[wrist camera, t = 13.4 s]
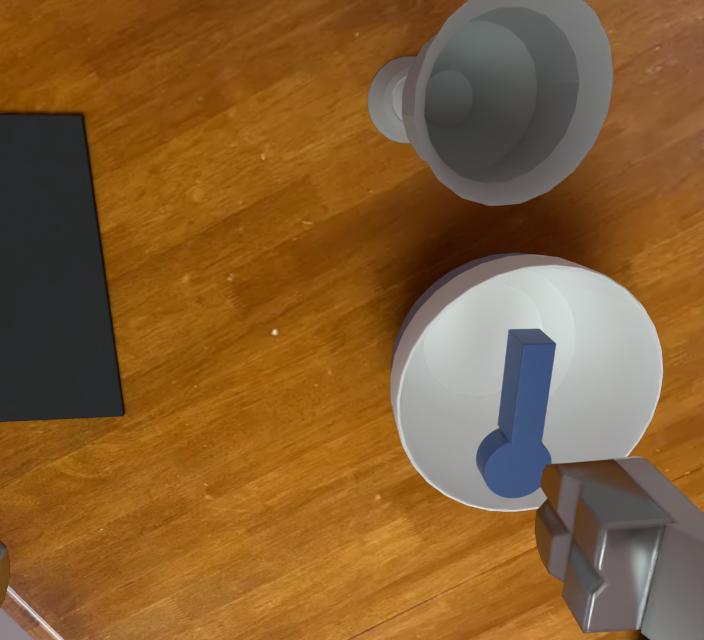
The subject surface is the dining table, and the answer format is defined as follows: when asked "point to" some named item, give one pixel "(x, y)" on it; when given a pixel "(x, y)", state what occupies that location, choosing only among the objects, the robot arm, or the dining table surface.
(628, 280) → the dining table surface
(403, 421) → the bowl
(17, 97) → the dining table surface
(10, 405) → the mat
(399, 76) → the chalice
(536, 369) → the blue spoon
